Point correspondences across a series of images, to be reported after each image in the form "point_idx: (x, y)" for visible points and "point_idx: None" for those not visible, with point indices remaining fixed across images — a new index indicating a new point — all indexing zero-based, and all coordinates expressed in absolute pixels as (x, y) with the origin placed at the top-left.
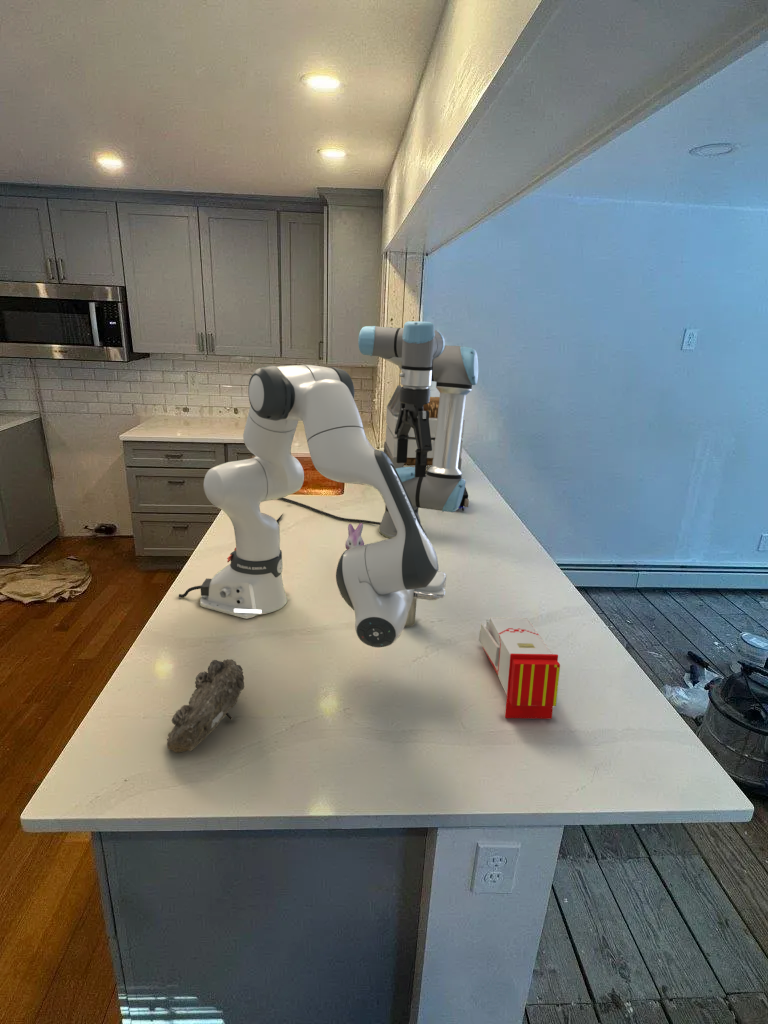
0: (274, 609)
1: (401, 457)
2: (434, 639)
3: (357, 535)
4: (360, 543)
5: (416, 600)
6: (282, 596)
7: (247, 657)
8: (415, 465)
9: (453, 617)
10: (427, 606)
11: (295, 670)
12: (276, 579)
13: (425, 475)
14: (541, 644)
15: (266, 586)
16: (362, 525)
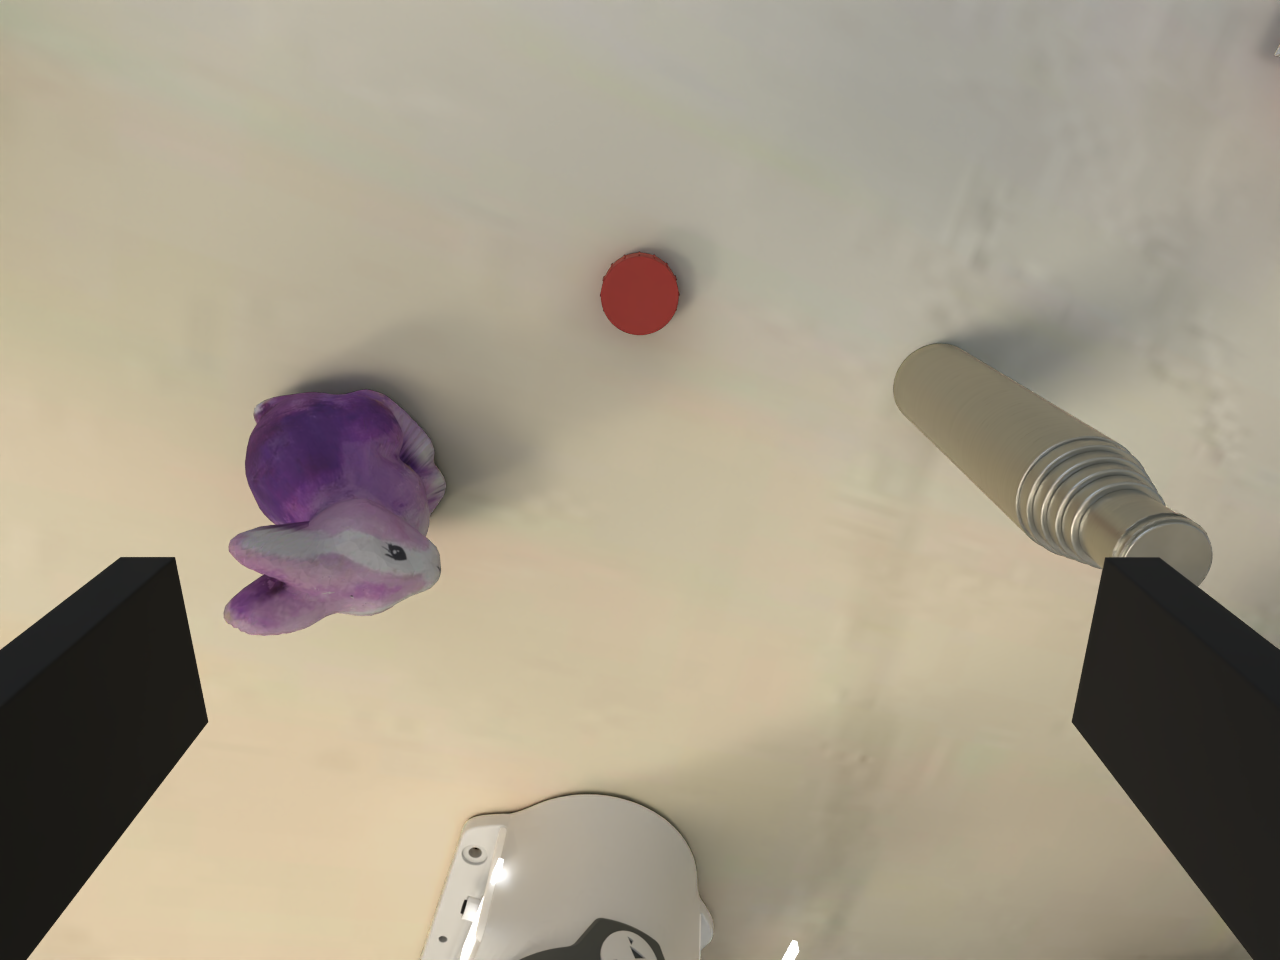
0: (686, 851)
1: (137, 724)
2: (1119, 312)
3: (351, 575)
4: (392, 543)
5: (1006, 376)
6: (644, 842)
7: (947, 940)
8: (1196, 869)
9: (983, 130)
10: (834, 223)
11: (1077, 832)
12: (656, 933)
13: (1173, 574)
14: None
15: (681, 955)
16: (263, 547)
